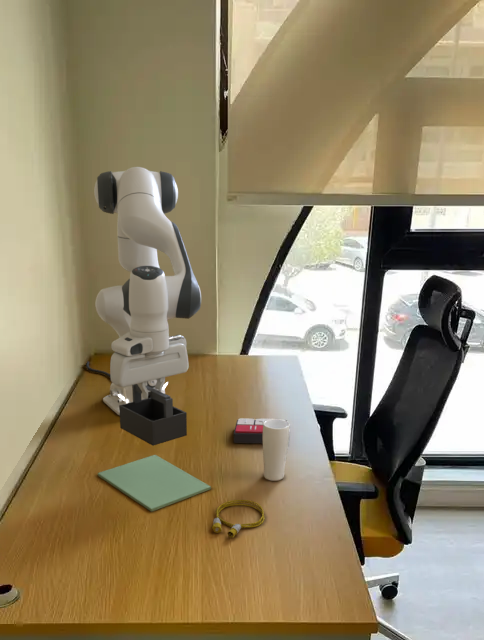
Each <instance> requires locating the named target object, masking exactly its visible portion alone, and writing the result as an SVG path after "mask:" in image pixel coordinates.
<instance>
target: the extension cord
mask: <svg viewBox="0 0 484 640" xmlns="http://www.w3.org/2000/svg"><path fill="white" fill-rule="evenodd" d="M234 506H245V507H250V508H254V509H256V510H257V511H258V512H260V514H261V516H260V518H259V520H257V521H255V522H250V523H241V524H240V523H231V522H228V521H227V520H224V519H223V518H221V516H219V515H220V512H222V511H223V509H225V508H229V507H234ZM264 511H265V510H264V509H263V507H262V505H261V504H259V503H258V502H256V501H253V500H250V499H249V500H248V499H234V500H229V501H226V502H223V503H221V504H220V505H219V506H218V507H217V508H216V510H215V515H216V517H215V518H213V521H212V522H213V523H212V526H211V530H212V531H213V532H214V533H215V534H218V533H222V531H223V530H222V524H224V525H225V526H228V527H229V528H230V529H229V530H228V531H227V536H228V537H229V538H235V536H237V535H238V533H239V532H240V530H241V529H245V528H246V529H247V528H249V529H250V528H251V529H252V528H256V527H259V526H261V525H262V524H263V523H264V521H265V512H264Z"/></svg>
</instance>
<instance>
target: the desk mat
mask: <svg viewBox="0 0 484 640" xmlns="http://www.w3.org/2000/svg"><path fill="white" fill-rule="evenodd" d="M97 476H98V477H99V478H100V479H102V480H104V481H106V482H107V484H110V485H111V486H112V487H114V488H115V489H117V490H118V491H120V492H121V493H123V494H124V495H126V496H127V497H129V498H130V499H132V500H133V501H135V502H136V503H138V504H140V505H141V506H142V507H144V508H145V509H147V510H148V511H150V512H152V513H153V512H155V511H157V510H161V509H163V508H165V507H168V506H170V505H174V504H175V503H178V502H181V501H183V500H186V499H189V498H192V497H195V496H197V495H200V494H202V493H204V492H208V491H209V490H212V487H211V485H209V484H208V483H206V482H203V481H202V480H201V479H199V478H197V477H195V476H193V475H191V474H190V473H188V472H187V471H185V470H183V469H181V468H179V467H177V466H176V465H174V464H172V463H171V462H169V461H167V460H165V459H164V458H162V457H160V456H158V455H157V454H153V455H150V456H146V457H143V458H140V459H137V460H134V461H131V462H128V463H125V464H122V465H118V466H115V467H112V468H110V469H106V470H103V471H99V472H97Z"/></svg>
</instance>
